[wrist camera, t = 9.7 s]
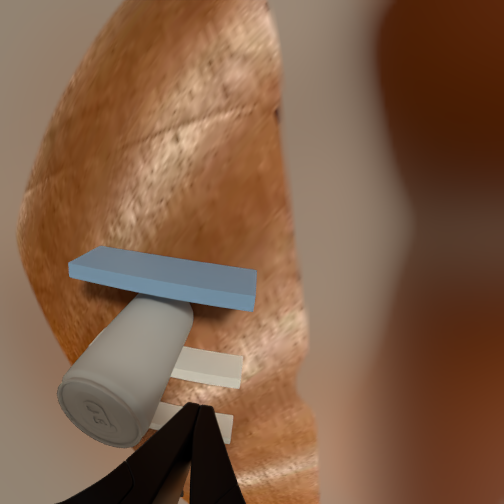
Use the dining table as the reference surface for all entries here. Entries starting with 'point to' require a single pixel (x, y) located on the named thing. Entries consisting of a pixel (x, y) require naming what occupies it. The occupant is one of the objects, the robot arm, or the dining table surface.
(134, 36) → the dining table surface
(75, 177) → the dining table surface
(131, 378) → the beverage can
